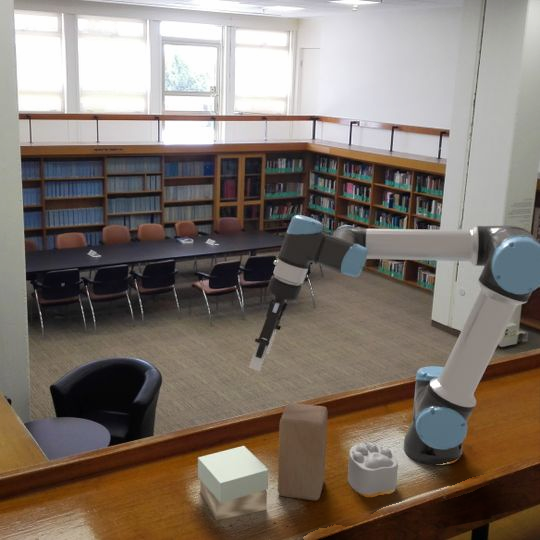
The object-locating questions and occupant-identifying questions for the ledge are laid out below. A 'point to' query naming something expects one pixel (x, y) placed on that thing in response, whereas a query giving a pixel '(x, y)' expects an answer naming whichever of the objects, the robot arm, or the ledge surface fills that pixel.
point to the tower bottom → (234, 503)
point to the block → (302, 451)
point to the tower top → (232, 474)
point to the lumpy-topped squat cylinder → (372, 468)
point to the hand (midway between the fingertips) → (259, 360)
